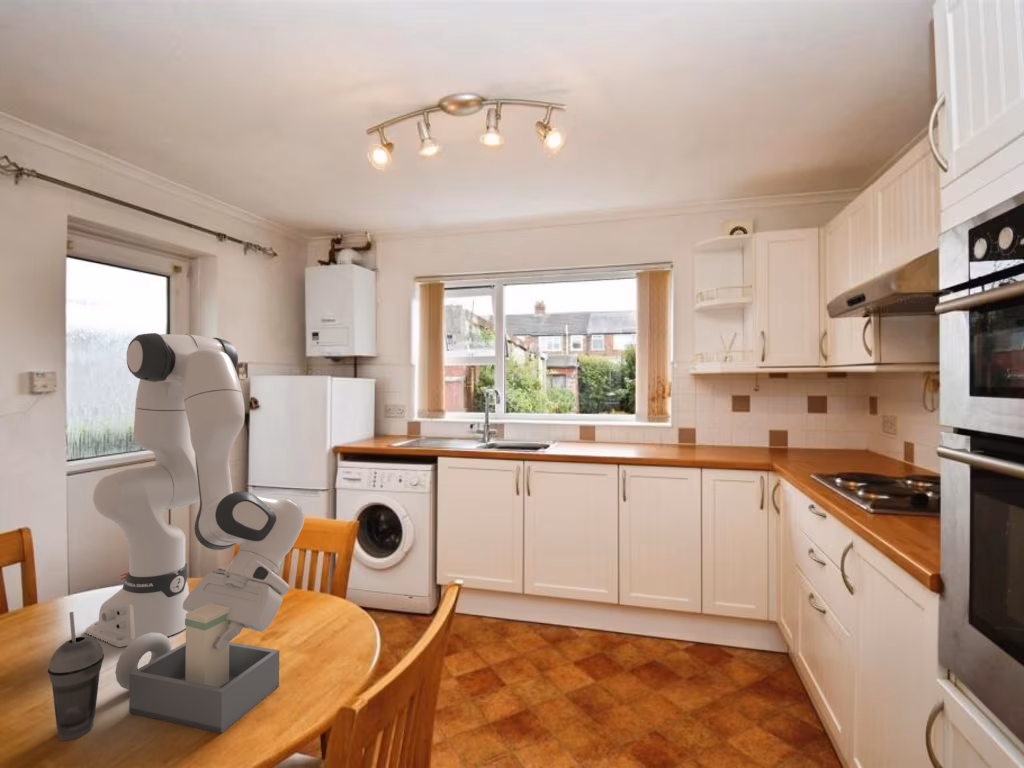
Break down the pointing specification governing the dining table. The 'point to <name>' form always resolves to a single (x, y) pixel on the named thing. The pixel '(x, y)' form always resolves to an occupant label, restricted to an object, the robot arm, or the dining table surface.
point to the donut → (140, 655)
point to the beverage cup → (75, 684)
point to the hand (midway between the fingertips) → (204, 645)
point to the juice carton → (206, 645)
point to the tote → (203, 688)
